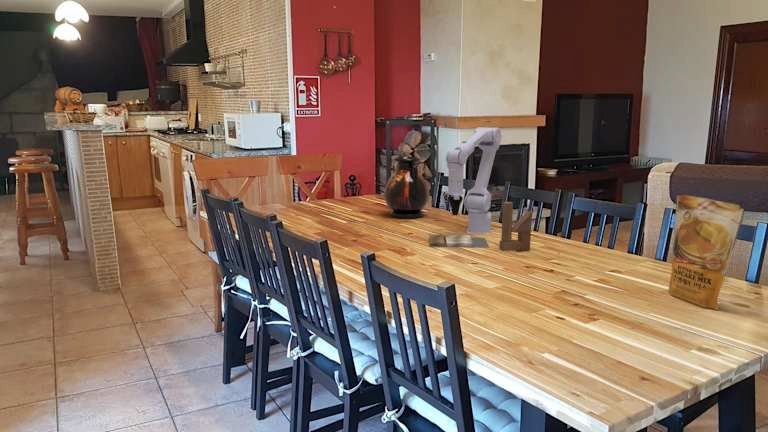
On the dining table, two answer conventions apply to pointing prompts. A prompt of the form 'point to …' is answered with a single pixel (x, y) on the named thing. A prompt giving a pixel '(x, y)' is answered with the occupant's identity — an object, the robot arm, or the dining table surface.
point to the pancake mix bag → (702, 248)
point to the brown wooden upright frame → (515, 230)
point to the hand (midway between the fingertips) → (455, 215)
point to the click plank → (458, 240)
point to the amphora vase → (406, 189)
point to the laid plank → (437, 240)
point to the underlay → (474, 243)
